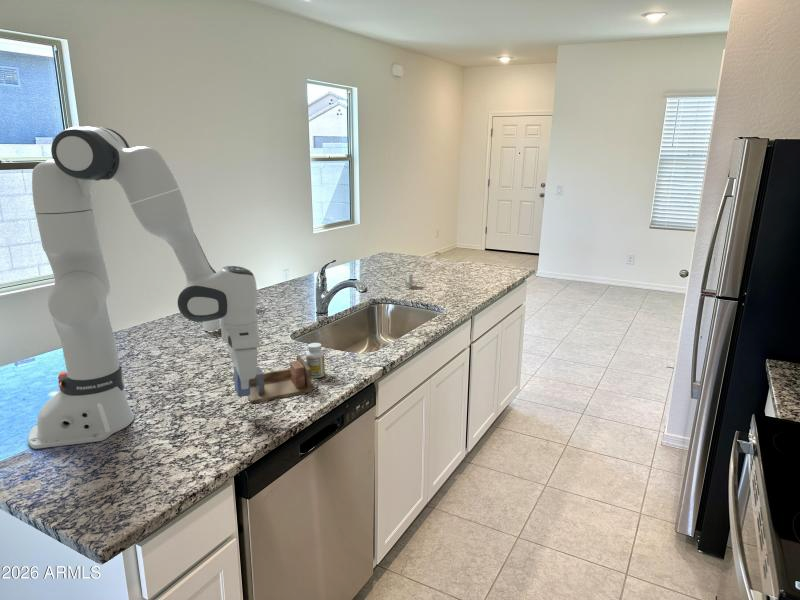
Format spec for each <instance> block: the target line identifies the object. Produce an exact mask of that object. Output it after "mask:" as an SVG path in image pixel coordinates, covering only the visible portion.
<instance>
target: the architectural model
mask: <svg viewBox="0 0 800 600" xmlns="http://www.w3.org/2000/svg"><path fill="white" fill-rule="evenodd" d="M413 274H414V273H413V272H412V273H407V275H406V279H405V280H404V281H402V284H405V289H406V288H410V289H412V288H413V277H414V275H413ZM411 287H412V288H411Z"/></svg>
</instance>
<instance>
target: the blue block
mask: <svg viewBox="0 0 800 600" xmlns="http://www.w3.org/2000/svg"><path fill="white" fill-rule="evenodd" d="M233 376H234V377H233V379H234V382H233V383H234V390H235V393H236V394H237V397H238V398H239V397H240V398H241V397H246V396H247V397H248V395H250V379H249V387H248V389H241V386H240V381H241V380H240V377H239V375H238V373H237V370H236V368H235V366H233Z"/></svg>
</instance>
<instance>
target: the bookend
mask: <svg viewBox="0 0 800 600" xmlns="http://www.w3.org/2000/svg"><path fill="white" fill-rule="evenodd" d="M263 373H264V372H263V371H262V369H261V368H260V366H257V373H256V377H255V378H254V380H255V388H256V390H257V392H258V394H259V395H262V394H265V389H264V376H263Z"/></svg>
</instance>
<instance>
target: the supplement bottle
mask: <svg viewBox="0 0 800 600" xmlns="http://www.w3.org/2000/svg"><path fill="white" fill-rule="evenodd" d="M307 350H308V351H306V354H305V363H306V364H307V365H308V366H309V368H310V369H311V379H318V378H319V379H320V378H322V377H324V376H325V374H326V369H325V368H326V366H325V352H324V351H323V350H322V344H321V343H320V342H311V343H309V344H308V345H307Z"/></svg>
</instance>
